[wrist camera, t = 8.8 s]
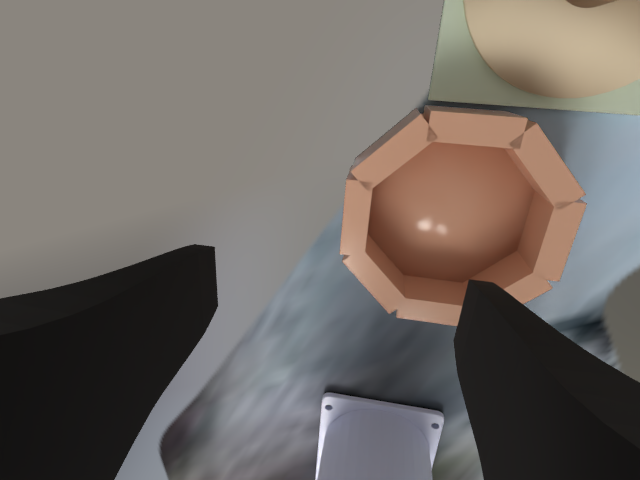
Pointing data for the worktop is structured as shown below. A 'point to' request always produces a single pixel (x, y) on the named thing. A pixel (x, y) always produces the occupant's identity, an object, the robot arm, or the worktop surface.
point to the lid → (558, 43)
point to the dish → (458, 211)
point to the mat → (488, 88)
